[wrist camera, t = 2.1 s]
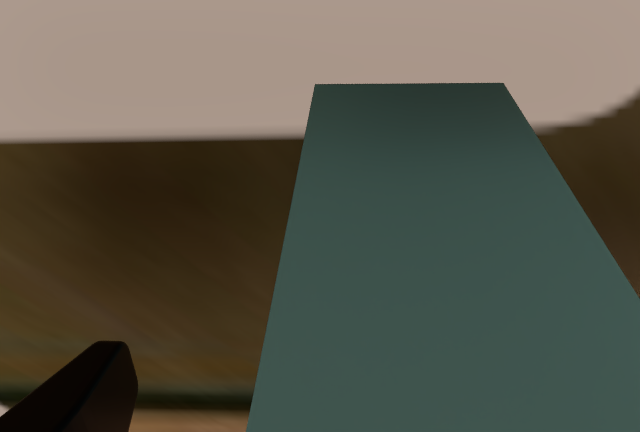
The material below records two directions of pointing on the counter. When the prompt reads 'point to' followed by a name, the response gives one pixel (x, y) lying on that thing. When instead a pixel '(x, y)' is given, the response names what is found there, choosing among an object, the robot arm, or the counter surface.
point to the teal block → (441, 277)
